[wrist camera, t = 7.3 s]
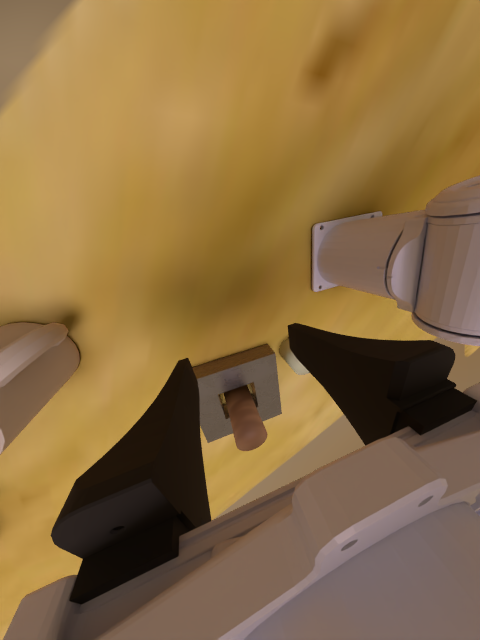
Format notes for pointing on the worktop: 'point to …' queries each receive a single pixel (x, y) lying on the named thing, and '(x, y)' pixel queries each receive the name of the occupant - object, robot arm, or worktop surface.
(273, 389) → the collar plate
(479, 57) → the worktop surface
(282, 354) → the pale cream cylinder
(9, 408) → the cup
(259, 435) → the walnut dowel
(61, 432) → the worktop surface
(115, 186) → the worktop surface
